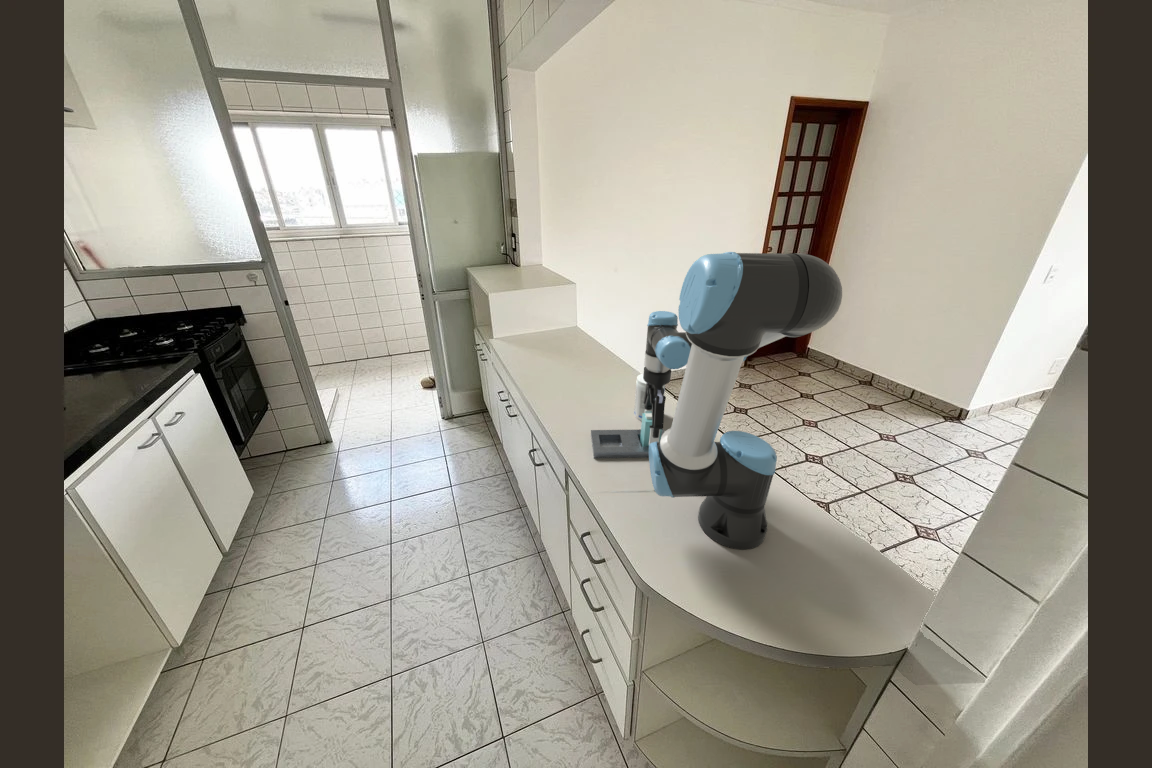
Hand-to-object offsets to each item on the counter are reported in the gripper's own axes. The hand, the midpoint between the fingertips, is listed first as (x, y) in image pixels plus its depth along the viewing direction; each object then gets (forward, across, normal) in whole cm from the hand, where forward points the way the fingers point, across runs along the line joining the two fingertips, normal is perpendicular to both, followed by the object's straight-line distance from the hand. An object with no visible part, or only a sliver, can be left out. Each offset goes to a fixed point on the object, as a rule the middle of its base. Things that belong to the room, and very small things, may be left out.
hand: (650, 436), depth 123 cm
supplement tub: (+4, +18, -3) cm, 19 cm away
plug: (+3, 0, 0) cm, 3 cm away
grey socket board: (+4, 0, +6) cm, 7 cm away
